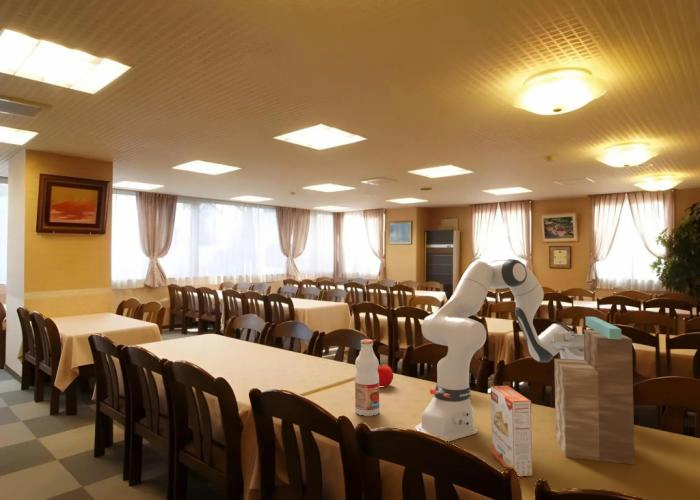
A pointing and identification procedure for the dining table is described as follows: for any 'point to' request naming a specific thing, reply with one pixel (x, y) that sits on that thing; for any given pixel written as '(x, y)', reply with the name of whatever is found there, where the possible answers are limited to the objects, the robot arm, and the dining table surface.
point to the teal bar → (603, 328)
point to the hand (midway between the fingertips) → (586, 334)
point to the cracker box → (511, 429)
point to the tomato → (385, 375)
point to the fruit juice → (367, 381)
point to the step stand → (596, 401)
